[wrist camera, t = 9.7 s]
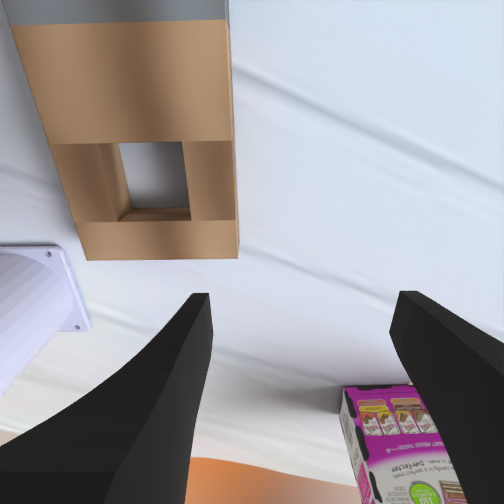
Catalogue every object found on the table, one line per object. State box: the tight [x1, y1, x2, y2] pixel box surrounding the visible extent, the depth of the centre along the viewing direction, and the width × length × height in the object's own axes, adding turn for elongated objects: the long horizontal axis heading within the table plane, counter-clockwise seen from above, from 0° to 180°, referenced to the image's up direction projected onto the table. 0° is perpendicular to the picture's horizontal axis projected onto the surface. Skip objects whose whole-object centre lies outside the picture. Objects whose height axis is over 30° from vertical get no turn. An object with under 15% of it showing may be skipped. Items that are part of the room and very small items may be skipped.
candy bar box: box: [339, 385, 467, 504], centre depth 22 cm, size 11×5×16 cm, turn 93°
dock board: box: [1, 0, 239, 261], centre depth 15 cm, size 10×22×2 cm, turn 1°
